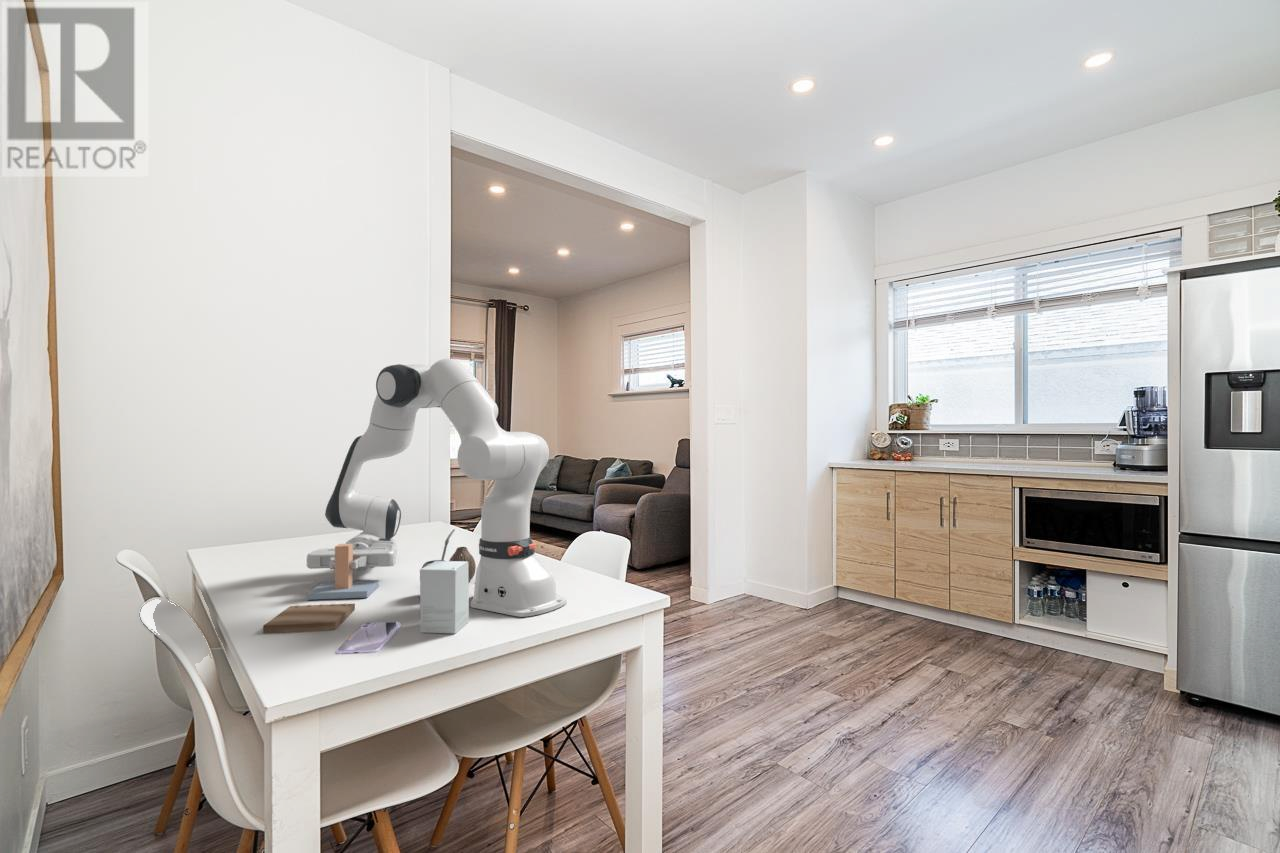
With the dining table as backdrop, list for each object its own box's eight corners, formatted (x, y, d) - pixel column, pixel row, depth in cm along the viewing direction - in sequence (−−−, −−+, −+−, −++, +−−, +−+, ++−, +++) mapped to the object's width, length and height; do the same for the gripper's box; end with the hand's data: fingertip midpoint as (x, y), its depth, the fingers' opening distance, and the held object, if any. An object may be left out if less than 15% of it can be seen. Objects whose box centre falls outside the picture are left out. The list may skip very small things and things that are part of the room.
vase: (481, 580, 152) (481, 546, 152) (460, 586, 146) (460, 551, 146) (463, 576, 155) (463, 543, 155) (441, 582, 150) (441, 548, 150)
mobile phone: (333, 650, 103) (363, 621, 118) (333, 656, 103) (363, 626, 118) (378, 649, 104) (402, 620, 119) (378, 654, 104) (402, 625, 119)
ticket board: (334, 629, 115) (334, 621, 115) (263, 633, 113) (263, 624, 113) (354, 610, 127) (354, 602, 127) (290, 612, 125) (290, 605, 125)
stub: (367, 597, 136) (367, 548, 136) (307, 599, 134) (307, 549, 134) (378, 586, 145) (378, 540, 145) (322, 588, 143) (322, 541, 143)
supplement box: (469, 621, 121) (470, 560, 121) (455, 634, 113) (455, 569, 113) (435, 620, 121) (435, 559, 121) (418, 633, 114) (418, 568, 114)
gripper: (318, 541, 150) (295, 553, 137) (402, 539, 153) (387, 551, 140) (318, 565, 150) (295, 580, 137) (401, 563, 153) (387, 577, 140)
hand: (342, 565), depth 138 cm, fingers closed on stub, 3 cm apart
